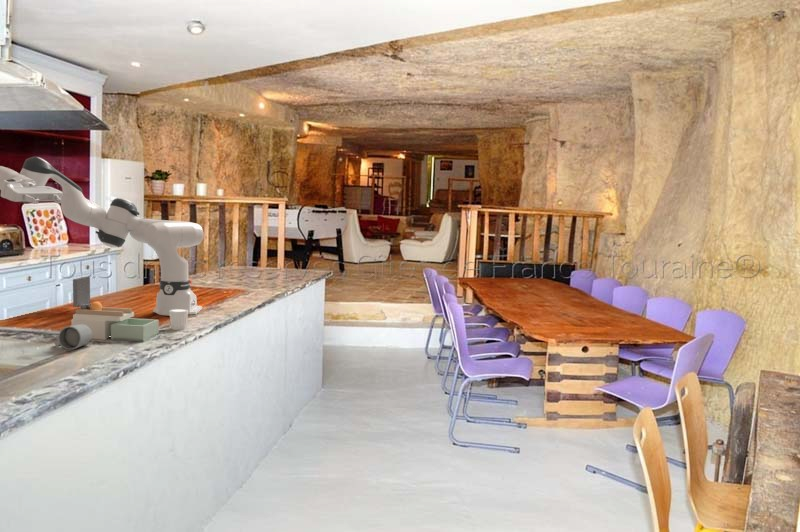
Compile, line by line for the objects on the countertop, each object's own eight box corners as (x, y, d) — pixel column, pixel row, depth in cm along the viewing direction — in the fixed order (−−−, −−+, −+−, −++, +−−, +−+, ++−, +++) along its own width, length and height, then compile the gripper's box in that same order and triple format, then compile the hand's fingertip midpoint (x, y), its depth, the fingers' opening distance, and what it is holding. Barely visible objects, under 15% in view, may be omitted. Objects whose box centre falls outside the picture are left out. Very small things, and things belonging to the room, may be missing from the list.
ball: (93, 311, 231) (93, 300, 231) (104, 312, 231) (104, 301, 231) (87, 313, 228) (87, 302, 227) (98, 314, 227) (98, 302, 227)
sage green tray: (127, 332, 235) (127, 318, 235) (158, 334, 234) (158, 319, 234) (111, 339, 224) (111, 324, 223) (143, 341, 223) (143, 326, 222)
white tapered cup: (182, 330, 242) (182, 312, 242) (165, 329, 244) (165, 311, 243) (191, 327, 249) (191, 309, 248) (175, 325, 250) (175, 308, 250)
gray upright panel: (86, 309, 234) (85, 276, 232) (95, 309, 233) (95, 277, 232) (73, 313, 226) (72, 279, 224) (82, 313, 226) (82, 279, 224)
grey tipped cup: (94, 344, 216) (93, 322, 215) (80, 350, 208) (80, 327, 207) (63, 343, 217) (62, 321, 216) (49, 349, 209) (48, 326, 208)
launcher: (90, 330, 237) (90, 305, 236) (135, 333, 235) (135, 307, 234) (71, 337, 225) (71, 310, 224) (118, 340, 223) (118, 313, 222)
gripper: (46, 196, 253) (71, 208, 249) (-4, 196, 235) (21, 210, 230) (49, 180, 252) (74, 193, 247) (-1, 180, 233) (24, 193, 229)
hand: (48, 201), depth 238 cm, fingers open, 8 cm apart
